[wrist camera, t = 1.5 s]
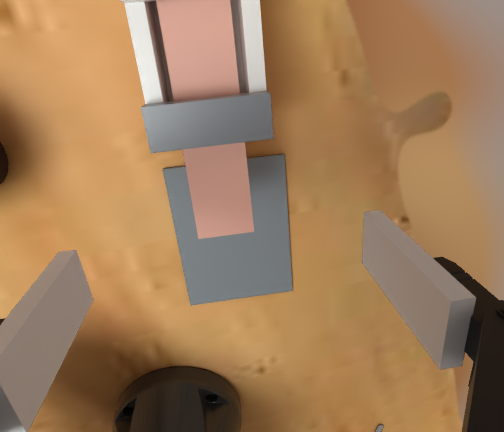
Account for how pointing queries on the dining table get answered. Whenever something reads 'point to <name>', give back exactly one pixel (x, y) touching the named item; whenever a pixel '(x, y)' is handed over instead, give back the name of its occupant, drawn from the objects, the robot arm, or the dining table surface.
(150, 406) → the robot arm
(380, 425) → the key chain
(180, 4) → the pink rectangular bar
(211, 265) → the mat
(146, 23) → the dispenser
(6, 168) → the coffee mug
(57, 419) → the dining table surface
